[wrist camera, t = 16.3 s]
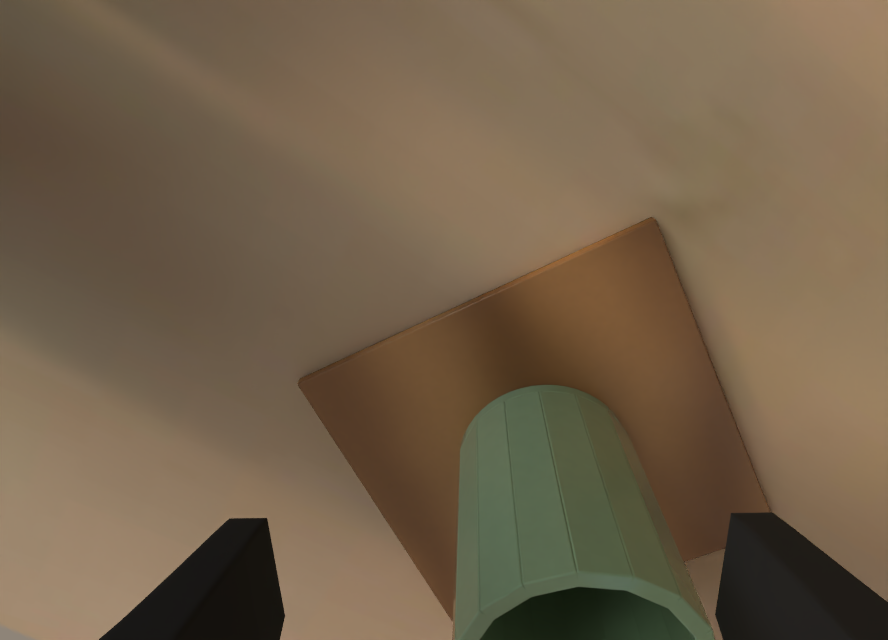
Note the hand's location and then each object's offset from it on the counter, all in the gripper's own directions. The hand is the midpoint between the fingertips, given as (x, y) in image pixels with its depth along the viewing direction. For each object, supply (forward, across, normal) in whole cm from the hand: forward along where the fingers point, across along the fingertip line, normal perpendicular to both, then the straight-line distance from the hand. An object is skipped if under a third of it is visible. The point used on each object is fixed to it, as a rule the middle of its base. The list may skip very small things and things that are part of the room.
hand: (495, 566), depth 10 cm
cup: (+10, -2, +5) cm, 11 cm away
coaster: (+10, -2, +5) cm, 12 cm away
